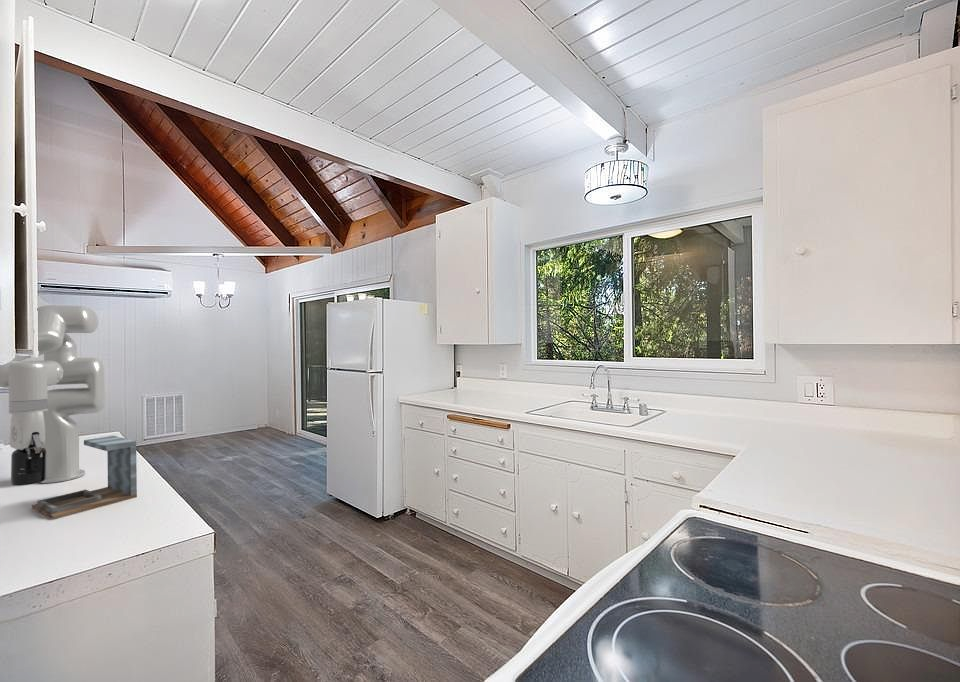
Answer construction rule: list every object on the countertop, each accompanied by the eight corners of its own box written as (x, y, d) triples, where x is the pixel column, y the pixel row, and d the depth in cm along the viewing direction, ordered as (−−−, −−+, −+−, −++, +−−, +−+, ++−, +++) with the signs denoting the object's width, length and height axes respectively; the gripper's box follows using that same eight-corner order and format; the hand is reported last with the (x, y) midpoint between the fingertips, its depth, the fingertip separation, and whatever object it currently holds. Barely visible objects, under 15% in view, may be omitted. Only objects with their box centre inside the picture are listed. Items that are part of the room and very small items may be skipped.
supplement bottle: (23, 487, 118) (23, 442, 118) (4, 485, 120) (3, 441, 120) (53, 479, 125) (52, 436, 125) (34, 478, 126) (34, 436, 126)
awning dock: (32, 508, 129) (31, 448, 129) (113, 488, 146) (112, 435, 146) (53, 519, 121) (52, 455, 121) (136, 497, 138) (136, 440, 138)
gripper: (-2, 406, 124) (-1, 470, 123) (20, 410, 115) (21, 479, 115) (35, 403, 130) (36, 464, 130) (58, 406, 121) (59, 471, 121)
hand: (29, 470), depth 122 cm, fingers closed on supplement bottle, 6 cm apart
